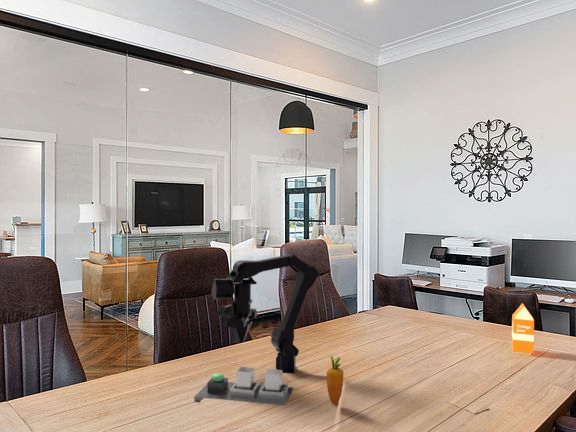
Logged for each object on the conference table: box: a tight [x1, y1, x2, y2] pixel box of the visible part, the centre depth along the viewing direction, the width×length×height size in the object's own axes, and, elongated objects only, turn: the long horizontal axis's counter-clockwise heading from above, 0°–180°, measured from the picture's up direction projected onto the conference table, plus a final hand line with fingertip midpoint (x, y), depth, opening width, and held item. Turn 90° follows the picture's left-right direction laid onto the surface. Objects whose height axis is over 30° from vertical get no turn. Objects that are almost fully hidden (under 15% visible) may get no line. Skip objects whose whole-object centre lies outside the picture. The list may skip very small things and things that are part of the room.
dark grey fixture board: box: [193, 377, 294, 406], centre depth 147 cm, size 28×14×4 cm, turn 79°
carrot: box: [326, 355, 344, 405], centre depth 140 cm, size 5×5×15 cm
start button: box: [211, 372, 225, 382], centre depth 149 cm, size 4×4×2 cm
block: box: [264, 368, 283, 392], centre depth 145 cm, size 4×4×7 cm
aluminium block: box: [236, 366, 255, 390], centre depth 147 cm, size 4×4×7 cm
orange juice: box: [511, 302, 535, 354], centre depth 198 cm, size 8×9×20 cm
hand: (241, 342), depth 164 cm, fingers closed
